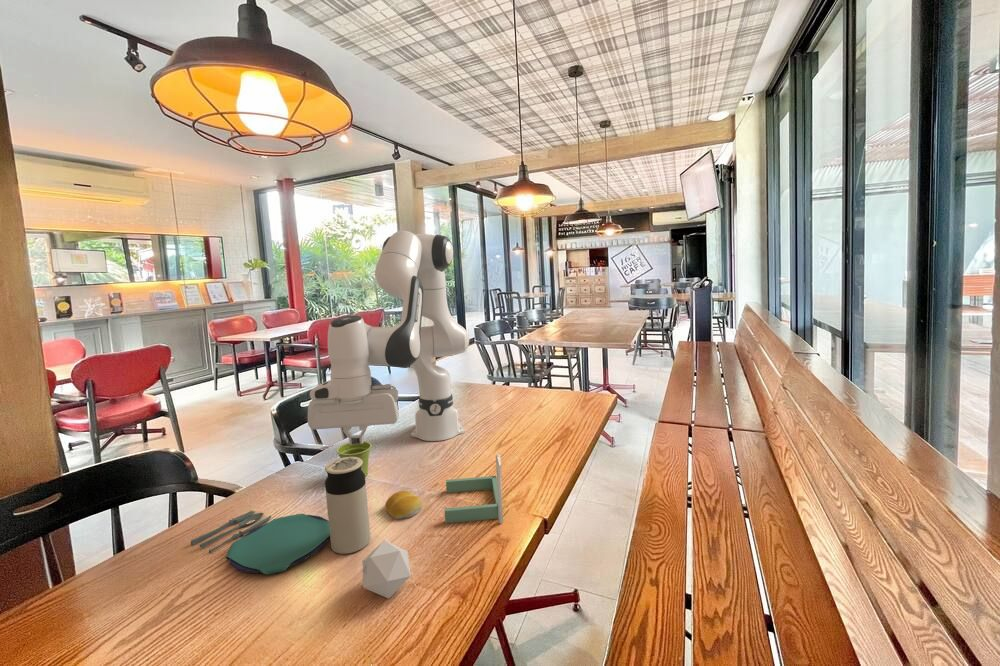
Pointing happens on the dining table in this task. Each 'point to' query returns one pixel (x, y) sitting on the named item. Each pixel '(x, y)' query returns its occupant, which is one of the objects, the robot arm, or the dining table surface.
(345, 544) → the travel mug
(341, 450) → the plant pot
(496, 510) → the green pocket
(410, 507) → the bread roll
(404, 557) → the die
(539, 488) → the dining table surface
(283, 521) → the cutlery set
